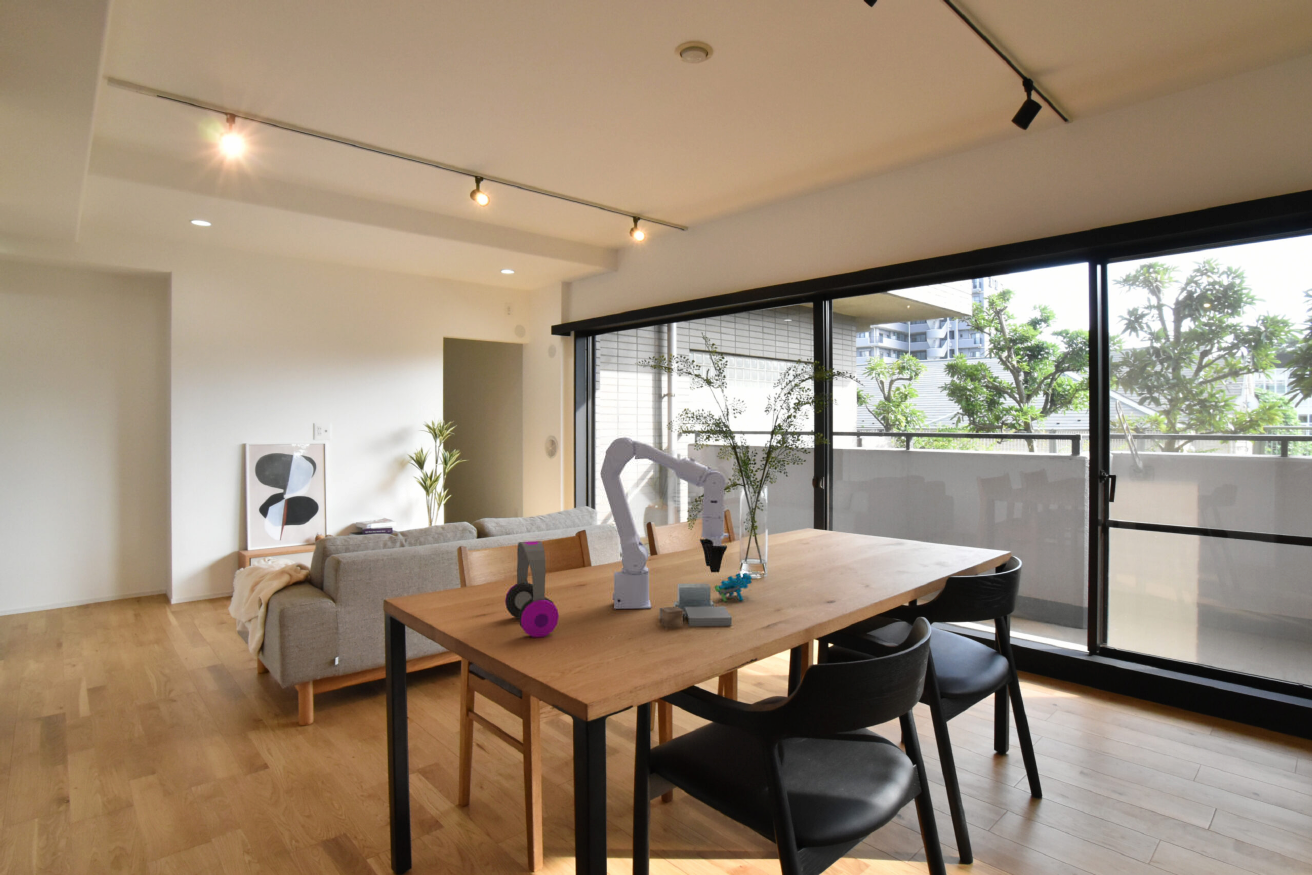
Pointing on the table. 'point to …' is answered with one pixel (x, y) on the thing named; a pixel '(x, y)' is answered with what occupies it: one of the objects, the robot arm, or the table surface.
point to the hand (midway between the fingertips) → (712, 569)
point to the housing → (693, 595)
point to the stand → (708, 616)
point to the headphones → (531, 592)
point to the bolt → (660, 614)
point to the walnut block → (671, 617)
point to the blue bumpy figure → (733, 585)
